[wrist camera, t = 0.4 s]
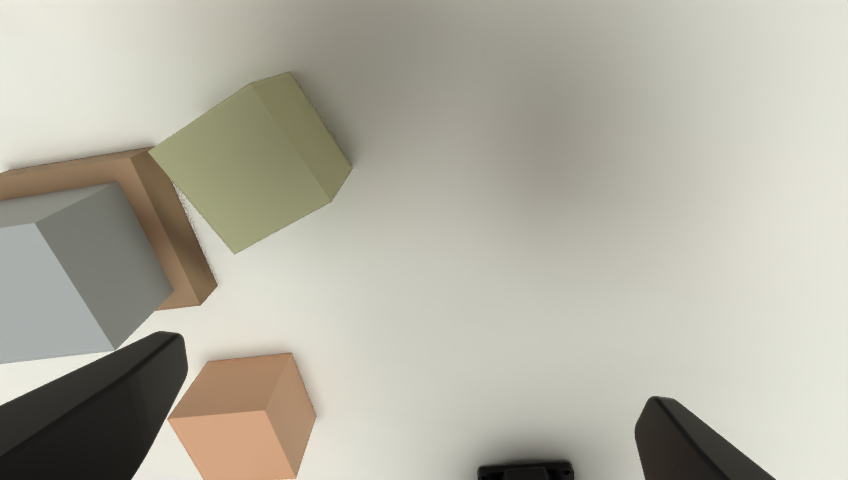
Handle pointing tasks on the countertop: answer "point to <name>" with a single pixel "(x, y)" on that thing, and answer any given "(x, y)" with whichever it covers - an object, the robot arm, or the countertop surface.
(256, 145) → the olive block
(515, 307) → the countertop surface
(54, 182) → the walnut slab
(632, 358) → the countertop surface
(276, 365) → the terracotta block
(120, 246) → the grey block
